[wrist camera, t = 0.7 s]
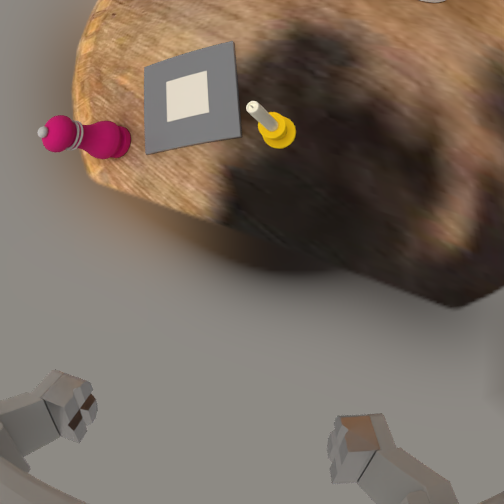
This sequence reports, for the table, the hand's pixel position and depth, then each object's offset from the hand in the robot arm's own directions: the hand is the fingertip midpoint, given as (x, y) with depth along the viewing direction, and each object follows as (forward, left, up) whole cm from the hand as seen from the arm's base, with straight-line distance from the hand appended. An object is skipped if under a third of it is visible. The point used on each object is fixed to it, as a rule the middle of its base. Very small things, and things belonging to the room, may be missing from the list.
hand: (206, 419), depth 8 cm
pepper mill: (-21, -35, -40) cm, 57 cm away
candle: (-17, -4, -40) cm, 44 cm away
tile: (-26, -19, -40) cm, 51 cm away
